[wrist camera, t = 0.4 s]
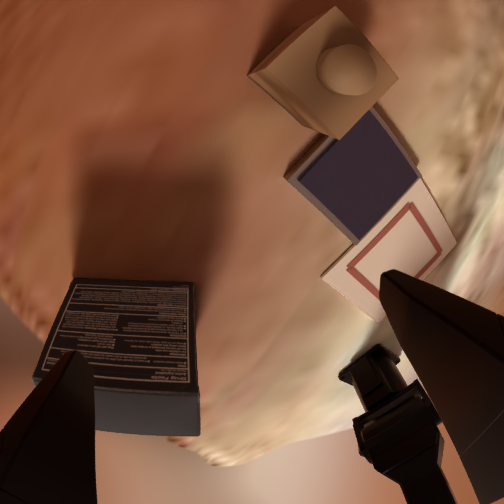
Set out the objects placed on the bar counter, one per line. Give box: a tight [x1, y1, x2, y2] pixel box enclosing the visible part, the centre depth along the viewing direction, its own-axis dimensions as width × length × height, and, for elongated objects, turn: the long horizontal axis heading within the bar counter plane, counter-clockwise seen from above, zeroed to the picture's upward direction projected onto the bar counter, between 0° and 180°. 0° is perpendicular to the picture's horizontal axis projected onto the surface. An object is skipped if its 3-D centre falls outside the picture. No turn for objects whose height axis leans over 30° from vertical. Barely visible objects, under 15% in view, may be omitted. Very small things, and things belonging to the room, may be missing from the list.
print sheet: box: [321, 178, 457, 323], centre depth 26 cm, size 10×12×1 cm
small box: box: [31, 278, 201, 436], centre depth 20 cm, size 11×6×10 cm, turn 83°
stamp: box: [247, 6, 399, 140], centre depth 14 cm, size 5×5×8 cm
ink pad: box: [284, 107, 422, 246], centre depth 20 cm, size 8×8×1 cm
